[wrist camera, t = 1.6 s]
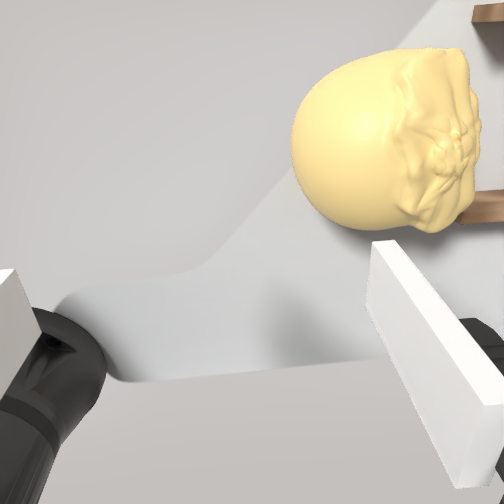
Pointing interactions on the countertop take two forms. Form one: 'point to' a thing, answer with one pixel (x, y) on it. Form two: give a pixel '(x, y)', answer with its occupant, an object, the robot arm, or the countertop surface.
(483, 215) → the frame
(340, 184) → the sculpture
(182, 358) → the countertop surface
